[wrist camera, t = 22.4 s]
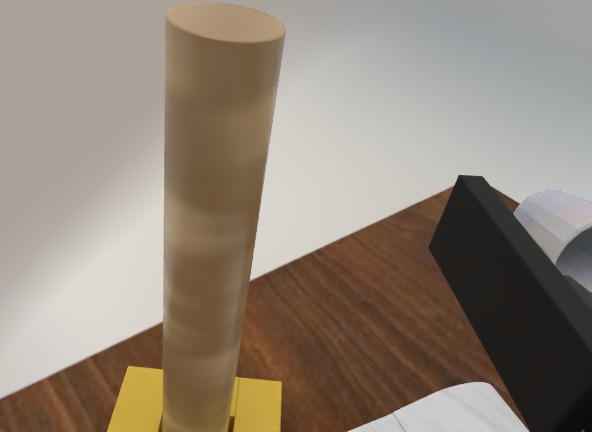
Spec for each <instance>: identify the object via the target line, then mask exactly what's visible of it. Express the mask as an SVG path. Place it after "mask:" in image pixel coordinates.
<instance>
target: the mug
mask: <svg viewBox="0 0 592 432" xmlns="http://www.w3.org/2000/svg"><path fill="white" fill-rule="evenodd" d="M513 214H514V216H515V217H516V218H517V219H518V221H519V222H520V223H521V224H522V225H523V227H524V228H525V229H526V230H527V232H528V233H529V234H530V235H531V236H532V238H533V239H534V240H535V241H536V243H537V244H538V245H539V246H540V248H541V249H542V250H543V251H544V252H545V254H546V255H547V256H548V257H549V259H550V260H551V261H552V262H553V264H554V265H555V266H556V267H557V268H558V270H559V271H560V272H561V273H562V275H569V276H570V277H572V278H573V279H574V280H576V281H577V282H578V283H580V284H581V285H582V286H583V287H585V288H586V289H587V290H588V291H590V292H592V202H590V201H587V200H584V199H581V198H579V197H576V196H573V195H570V194H567V193H564V192H561V191H555V190H554V191H553V190H546V191H542V192H538V193H536V194H534V195H532V196H530V197H528V198H526V199H525V200H524V201H523V202H522V203H521V204H520V205H519V206H518V207H517V209H516V210H515V212H514V213H513Z"/></svg>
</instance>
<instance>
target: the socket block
mask: <svg viewBox="0 0 592 432" xmlns="http://www.w3.org/2000/svg"><path fill="white" fill-rule="evenodd" d="M281 398H282V382H279V381H269V380H259V379H249V378H239V377H235V383H234V390H233V397H232V404H231V411H230V418H229V424H228V431H227V432H280V428H281ZM162 417H163V370H162V369H153V368H143V367H133V366H128V368H127V371H126V374H125V377H124V381H123V384H122V387H121V390H120V393H119V396H118V399H117V402H116V405H115V408H114V411H113V414H112V417H111V421H110V424H109V427H108V430H107V432H162Z"/></svg>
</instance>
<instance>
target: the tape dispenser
mask: <svg viewBox="0 0 592 432" xmlns="http://www.w3.org/2000/svg"><path fill="white" fill-rule="evenodd" d="M348 432H529V431H528V430H527V429H526V427H525V426H524V425H523V424H522V422H521V421H520V420H519V419H518V417H517V416H516V415H515V414H514V413H513V411H512V410H511V409H510V408H509V406H508V405H507V404H506V403H505V401H504V400H503V399H502V398H501V397H500V395H499V394H498V393H497V392H496V390H495V389H494V388H493V387H492V386H491V385H490V384H488V383H483V382H474V383H466V384H461V385H457V386H453V387H449V388H446V389H443V390H440V391H438V392H435V393H433V394H431V395H429V396H427V397H425V398H422V399H420V400H418V401H416V402H414V403H412V404H409V405H407V406H405V407H403V408H401V409H399V410H397V411H394V412H393V413H392V414H390V415H387V416H385V417H382V418H380V419H378V420H375V421H373V422H370V423H368V424H365V425H363V426H360V427H358V428H355V429H353V430H350V431H348Z"/></svg>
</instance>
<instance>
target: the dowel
mask: <svg viewBox="0 0 592 432" xmlns="http://www.w3.org/2000/svg"><path fill="white" fill-rule="evenodd" d="M165 21H166V22H165V23H166V24H165V32H166V33H165V149H164V150H165V151H164V155H165V156H164V160H165V161H164V284H163V285H164V286H163V293H164V294H163V417H162V432H227V431H228V424H229V418H230V411H231V404H232V397H233V390H234V383H235V376H236V369H237V363H238V356H239V349H240V342H241V335H242V328H243V321H244V315H245V308H246V301H247V294H248V287H249V280H250V273H251V266H252V259H253V252H254V246H255V239H256V232H257V225H258V218H259V211H260V205H261V197H262V190H263V183H264V177H265V170H266V163H267V156H268V150H269V143H270V136H271V129H272V122H273V114H274V108H275V102H276V95H277V88H278V81H279V74H280V67H281V60H282V53H283V47H284V39H285V33H286V32H285V27H284V25H283V24H282V23H281V22H280V21H279V20H277V19H276V18H274V17H272V16H270V15H268V14H265V13H263V12H260V11H258V10H254V9H251V8H247V7H243V6H238V5H233V4H226V3H216V2H191V3H184V4H179V5H176V6H173V7H172V8H170V9H169V10H168V11H167V13H166V18H165Z"/></svg>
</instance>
